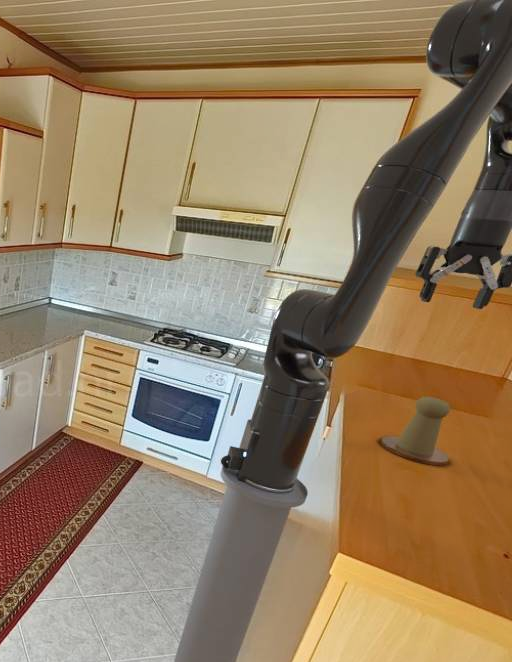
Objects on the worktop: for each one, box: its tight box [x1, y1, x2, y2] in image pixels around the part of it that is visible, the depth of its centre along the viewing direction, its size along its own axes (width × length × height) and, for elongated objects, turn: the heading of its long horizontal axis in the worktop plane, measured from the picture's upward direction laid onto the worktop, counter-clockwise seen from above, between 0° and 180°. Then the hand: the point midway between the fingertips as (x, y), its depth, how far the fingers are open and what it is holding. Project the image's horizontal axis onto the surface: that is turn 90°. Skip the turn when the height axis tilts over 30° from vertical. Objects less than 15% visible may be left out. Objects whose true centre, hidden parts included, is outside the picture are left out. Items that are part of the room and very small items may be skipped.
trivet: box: [380, 435, 450, 466], centre depth 100 cm, size 11×11×1 cm
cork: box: [396, 396, 451, 456], centre depth 98 cm, size 6×6×11 cm
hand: (450, 304), depth 95 cm, fingers open, 8 cm apart
